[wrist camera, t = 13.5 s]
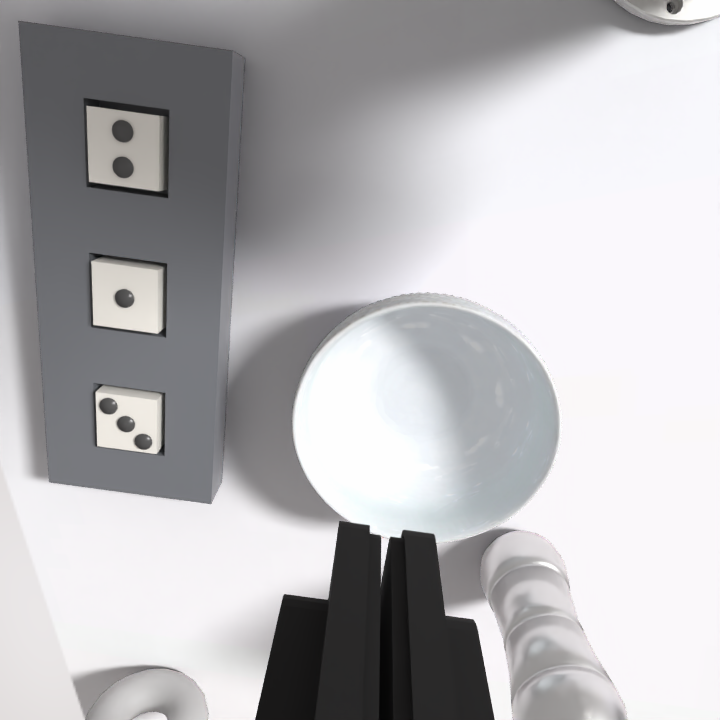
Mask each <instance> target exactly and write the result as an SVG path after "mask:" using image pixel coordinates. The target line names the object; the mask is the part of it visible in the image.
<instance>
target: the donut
mask: <svg viewBox="0 0 720 720" xmlns="http://www.w3.org/2000/svg"><path fill="white" fill-rule="evenodd" d="M146 712H159V713H163V714H164V715H166V717H167V719H168V720H208V715H209V712H208V708H207V704H206V699H205V695H204V693H203V692H202V690H201V689H200V688H199V686H198V685H197V683H196V682H195V681H194V680H193V679H191V678H189V677H188V676H186V675H185V674H183V673H182V672H178V671H174V670H170V669H148V670H144V671H141V672H137V673H133V674H131V675H129V676H127V677H125V678H123V679H121V680H119V681H117V682H115V683H114V684H113V685H112V686H111V687H109V688H108V689H107V690H106V691H105V692H104V693H102V694H101V695H100V697H99V698H98V699H97V701H96V702H95V704H94V705H93V706H92V708H91V709H90V711H89V712H88V714H87V716H86V719H85V720H132V719H133V718H135V717H137V716H138V715H140V714H143V713H146Z"/></svg>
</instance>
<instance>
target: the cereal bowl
mask: <svg viewBox="0 0 720 720" xmlns="http://www.w3.org/2000/svg"><path fill="white" fill-rule="evenodd" d="M291 422H292V435H293V442H294V447H295V451H296V454H297V457H298V460H299V463H300V465H301V467H302V470H303V472H304V473H305V475H306V477H307V479H308V481H309V482H310V484H311V485H312V487H313V488H314V490H315V491H316V492H317V494H318V495H319V496H320V497H321V498H322V500H323V501H324V502H325V503H326V504H327V505H328V506H329V507H331V508H332V509H333V510H334V511H335V512H336V513H338V514H339V515H340V516H342V517H343V518H345V519H346V520H347V521H349V522H351V523H358V524H365V525H370V533H372V534H376V535H381V537H383V538H387V539H390V537H398V538H401V534H402V531H403V530H410V531H417V532H425V533H432V534H434V535H435V539H436V544H439V543H447V542H453V541H458V540H462V539H466V538H470V537H473V536H476V535H479V534H481V533H484V532H486V531H489V530H491V529H493V528H495V527H497V526H499V525H500V524H502V523H504V522H506V521H507V520H509V519H510V518H512V517H513V516H514V515H516V514H517V513H518V512H519V511H521V510H522V509H523V508H524V507H525V506H526V505H527V504H528V503H529V502H530V501H531V500H532V499H533V498H534V497H535V495H536V494H537V493H538V492H539V490H540V489H541V487H542V486H543V485H544V483H545V482H546V480H547V478H548V476H549V474H550V472H551V470H552V468H553V466H554V463H555V461H556V458H557V455H558V451H559V447H560V442H561V435H562V412H561V406H560V401H559V396H558V393H557V390H556V387H555V383H554V381H553V379H552V377H551V374H550V372H549V370H548V368H547V366H546V364H545V362H544V360H543V359H542V358H541V356H540V355H539V353H538V351H537V350H536V348H535V347H534V346H533V345H532V343H531V342H530V341H529V340H528V339H527V338H526V336H525V335H523V334H522V332H521V331H520V330H518V329H517V328H516V327H515V326H514V325H513V324H511V323H510V322H509V321H507V320H506V319H505V318H503V316H502V315H499V314H497V313H496V312H494V311H493V310H491V309H488V308H487V307H484V306H482V305H480V304H478V303H477V302H472V301H470V300H468V299H464V298H462V297H455V296H453V295H447V294H438V293H429V292H427V293H416V294H414V293H411V294H407V295H406V294H402V295H400V296H394V297H391V298H387V299H384V300H380V301H377V302H375V303H372V304H370V305H368V306H367V307H363V308H361V309H360V310H359V311H356V312H354V313H353V314H352V315H350V316H348V317H347V318H346V319H345V320H344V321H342V322H340V324H339V325H337V326H336V327H335V328H334V329H333V330H332V331H331V332H329V334H328V335H327V336H326V337H325V338H324V339H323V341H322V342H321V343H320V344H319V346H318V347H317V349H316V350H315V351H314V353H313V355H312V356H311V358H310V359H309V361H308V363H307V365H306V367H305V368H304V371H303V373H302V376H301V377H300V381H299V383H298V388H297V390H296V392H295V399H294V404H293V407H292V421H291Z"/></svg>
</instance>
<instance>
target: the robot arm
mask: <svg viewBox="0 0 720 720" xmlns="http://www.w3.org/2000/svg"><path fill="white" fill-rule="evenodd" d="M613 1H615V2H616V3H617V4H619V5H620V6H621V7H623V8H624V9H625V10H626V11H628V12H629V13H631V14H633V15H635V16H638V17H640V18H642V19H644V20H647V21H650V22H655V23H660V24H665V25H691V24H695V23H699V22H704V21H708V20H712V19H714V18H717V17H719V16H720V0H613ZM667 4H670V5H671V7H672V8H671V12H670V13H668V11H667ZM255 720H494V714H493V709H492V704H491V698H490V693H489V688H488V683H487V677H486V672H485V667H484V661H483V656H482V651H481V645H480V640H479V635H478V630H477V626H476V623H475V622H474V620H473V619H466V618H458V617H451V616H445V610H444V602H443V594H442V586H441V578H440V570H439V562H438V554H437V546H436V539H435V535H434V534H432V533H425V532H417V531H410V530H403V531H402V534H401V538H398V537H390V539H389V543H388V549H387V554H386V560H385V566H384V571H383V577H382V582H381V535H376V534H370V525H365V524H358V523H351V522H343V521H339V527H338V534H337V541H336V549H335V556H334V563H333V570H332V577H331V584H330V591H329V598H328V600H324V599H316V598H309V597H301V596H294V595H286V594H284V596H283V600H282V604H281V608H280V612H279V617H278V621H277V626H276V630H275V635H274V639H273V643H272V648H271V652H270V657H269V661H268V666H267V670H266V674H265V679H264V683H263V688H262V692H261V697H260V701H259V705H258V710H257V714H256V719H255Z"/></svg>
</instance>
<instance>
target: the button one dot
mask: <svg viewBox="0 0 720 720" xmlns="http://www.w3.org/2000/svg"><path fill="white" fill-rule="evenodd" d="M91 265H92V296H93V325H98V326H105V327H112V328H120V329H127V330H134V331H142V332H149V333H156V334H158V333H159V332H160V331H161V330H163V329H164V328H165V327H166V322H167V263H161V262H154V261H146V260H139V259H132V258H125V257H117V256H110V255H105V256H103V257H100V258H98V259H96V260H93V261H91Z"/></svg>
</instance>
